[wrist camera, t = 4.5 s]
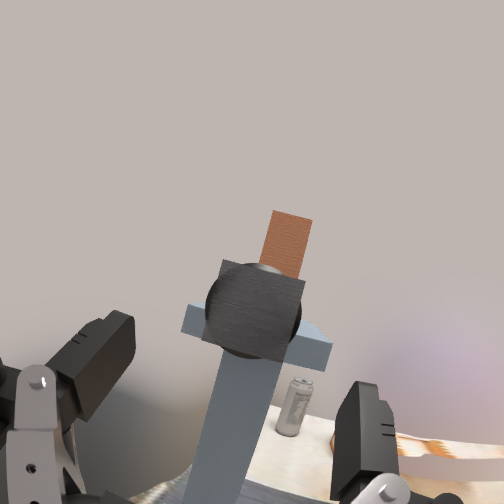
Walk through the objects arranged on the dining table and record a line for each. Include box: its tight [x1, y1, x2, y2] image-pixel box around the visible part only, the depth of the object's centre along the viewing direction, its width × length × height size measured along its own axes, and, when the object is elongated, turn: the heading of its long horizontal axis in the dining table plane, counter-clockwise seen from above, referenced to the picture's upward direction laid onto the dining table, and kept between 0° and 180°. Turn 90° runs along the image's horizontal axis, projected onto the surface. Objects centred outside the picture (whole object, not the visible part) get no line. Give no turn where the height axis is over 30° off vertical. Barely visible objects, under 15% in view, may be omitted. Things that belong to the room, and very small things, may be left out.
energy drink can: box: [276, 377, 313, 436], centre depth 74 cm, size 6×6×15 cm
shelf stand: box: [163, 302, 333, 504], centre depth 27 cm, size 16×12×32 cm
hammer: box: [201, 210, 312, 363], centre depth 23 cm, size 23×4×10 cm, turn 175°
